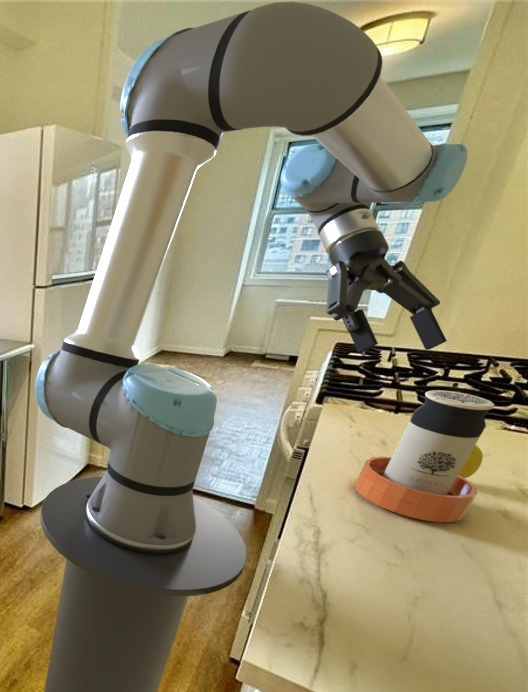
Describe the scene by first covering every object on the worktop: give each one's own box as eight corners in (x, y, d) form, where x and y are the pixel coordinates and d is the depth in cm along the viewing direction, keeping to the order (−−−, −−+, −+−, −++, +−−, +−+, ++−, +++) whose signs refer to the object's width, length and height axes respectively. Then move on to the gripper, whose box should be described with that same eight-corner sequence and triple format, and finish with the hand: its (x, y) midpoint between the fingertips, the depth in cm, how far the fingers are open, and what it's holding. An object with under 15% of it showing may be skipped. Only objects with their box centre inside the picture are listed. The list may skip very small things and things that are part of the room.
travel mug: (378, 481, 86) (425, 385, 78) (439, 499, 81) (496, 398, 73) (372, 498, 81) (422, 397, 73) (437, 517, 76) (498, 412, 68)
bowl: (348, 501, 81) (360, 475, 79) (358, 473, 90) (369, 449, 88) (462, 535, 73) (479, 508, 70) (461, 501, 81) (476, 475, 79)
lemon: (459, 476, 89) (481, 437, 85) (474, 490, 84) (499, 450, 81) (420, 470, 91) (441, 432, 87) (433, 484, 87) (456, 444, 83)
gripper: (312, 227, 81) (360, 337, 75) (434, 227, 85) (490, 332, 79) (276, 258, 88) (318, 360, 82) (390, 257, 92) (438, 355, 86)
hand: (402, 347), depth 80 cm, fingers open, 13 cm apart
